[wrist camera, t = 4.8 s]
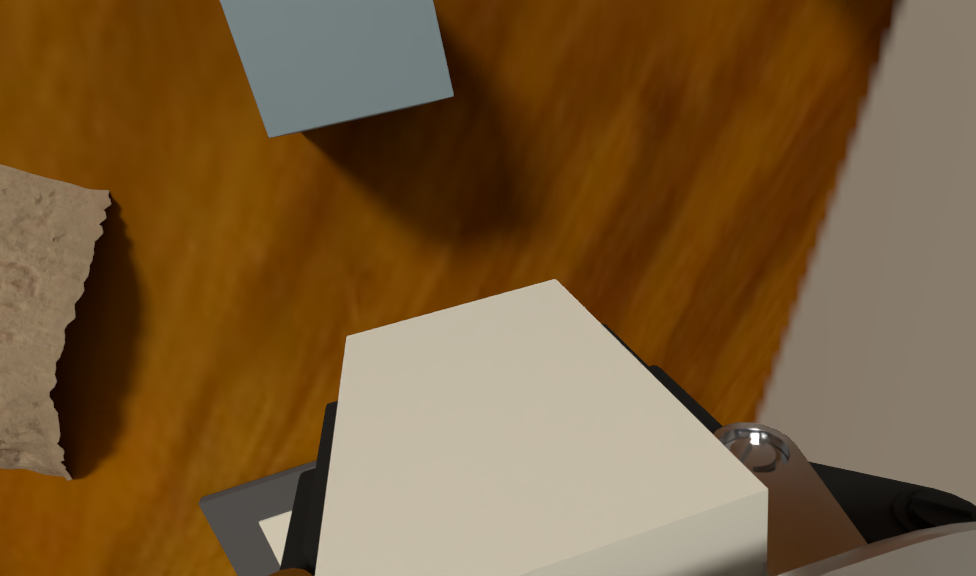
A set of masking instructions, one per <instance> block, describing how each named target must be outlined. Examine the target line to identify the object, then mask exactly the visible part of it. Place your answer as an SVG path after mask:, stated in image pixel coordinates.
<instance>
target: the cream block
mask: <svg viewBox="0 0 976 576" xmlns="http://www.w3.org/2000/svg"><path fill="white" fill-rule="evenodd" d="M767 524H768V488H767V487H766V486H765V485H764V484H763V483H762V482H761V481H760V480H758V479H757V478H756V477H755V476H754V475H753V474H752V473H751V472H750V471H749V470H748V469H747V468H746V467H745V466H744V465H743V464H742V463H741V462H740V461H739V460H738V459H737V458H736V457H735V456H734V455H733V454H732V453H731V452H730V451H729V450H728V449H727V448H726V447H725V446H724V445H723V444H722V443H721V442H720V441H719V440H718V439H717V438H716V437H715V436H714V435H713V434H712V433H711V432H710V431H709V430H708V429H707V428H706V427H705V426H704V425H703V424H702V423H701V422H700V421H699V420H698V419H697V418H696V417H695V416H694V415H693V414H692V413H691V412H690V411H689V410H688V409H687V408H686V407H685V406H684V405H683V404H682V403H681V402H680V401H679V400H678V399H676V398H675V397H674V396H673V395H672V394H671V393H670V392H669V391H668V390H667V389H666V388H665V387H664V386H663V385H662V384H661V383H660V382H659V381H658V380H657V379H656V378H655V377H654V376H653V375H652V374H651V373H650V372H649V371H648V370H647V369H646V368H645V367H644V366H643V365H642V364H641V363H640V362H639V361H638V360H637V359H636V358H635V357H634V356H633V355H632V354H631V353H630V352H629V351H628V350H627V349H626V348H625V347H624V346H623V345H622V344H621V343H620V342H619V341H618V340H617V339H616V338H615V337H614V336H613V335H612V334H611V333H610V332H609V331H608V330H607V329H606V328H605V327H604V326H603V325H602V324H601V323H600V322H599V321H598V320H597V319H596V318H595V317H593V316H592V315H591V314H590V313H589V312H588V311H587V310H586V309H585V308H584V307H583V306H582V305H581V304H580V303H579V302H578V301H577V300H576V299H575V298H574V297H573V296H572V295H571V294H570V293H569V292H568V291H567V290H566V289H565V288H564V287H563V286H562V285H561V284H560V283H559V282H558V281H557V280H556V279H553V280H550V281H546V282H542V283H539V284H535V285H531V286H528V287H524V288H521V289H517V290H513V291H510V292H506V293H502V294H499V295H495V296H492V297H488V298H484V299H481V300H477V301H473V302H470V303H466V304H463V305H459V306H455V307H452V308H448V309H444V310H441V311H437V312H434V313H430V314H426V315H423V316H419V317H415V318H412V319H408V320H405V321H401V322H397V323H394V324H390V325H386V326H383V327H379V328H375V329H372V330H368V331H365V332H361V333H357V334H354V335H350V336H347V338H346V345H345V353H344V360H343V368H342V375H341V383H340V390H339V398H338V405H337V413H336V420H335V428H334V435H333V443H332V450H331V458H330V466H329V473H328V481H327V488H326V496H325V503H324V511H323V518H322V526H321V533H320V541H319V548H318V556H317V563H316V571H315V576H763V562H766V561H767Z"/></svg>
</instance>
